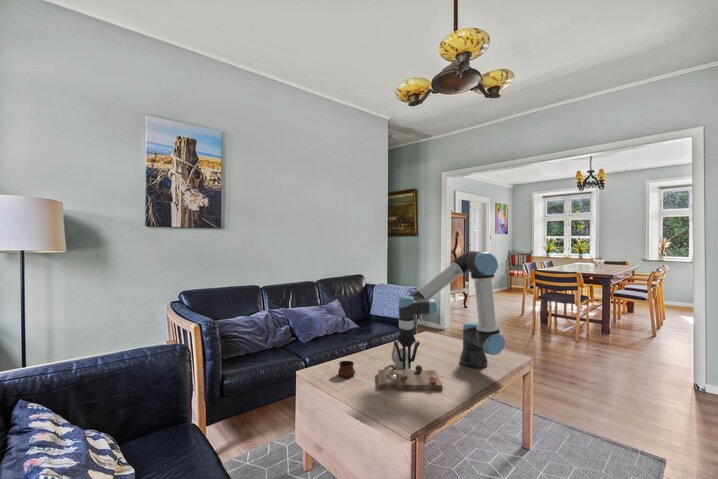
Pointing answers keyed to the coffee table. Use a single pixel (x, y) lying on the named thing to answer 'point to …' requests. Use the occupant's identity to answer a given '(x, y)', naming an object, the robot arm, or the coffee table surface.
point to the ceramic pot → (346, 369)
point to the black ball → (418, 368)
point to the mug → (396, 359)
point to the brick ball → (433, 379)
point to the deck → (408, 380)
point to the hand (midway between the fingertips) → (406, 375)
